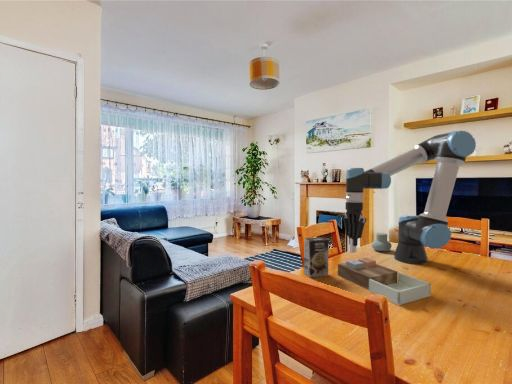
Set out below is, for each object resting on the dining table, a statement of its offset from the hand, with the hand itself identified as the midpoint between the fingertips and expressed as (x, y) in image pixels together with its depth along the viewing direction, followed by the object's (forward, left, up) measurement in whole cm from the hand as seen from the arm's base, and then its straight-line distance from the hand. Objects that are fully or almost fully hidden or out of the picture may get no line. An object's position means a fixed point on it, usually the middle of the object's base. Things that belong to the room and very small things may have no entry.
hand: (352, 252), depth 126 cm
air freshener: (-39, -18, -9) cm, 44 cm away
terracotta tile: (0, +8, -3) cm, 9 cm away
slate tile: (+7, +8, -3) cm, 11 cm away
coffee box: (+19, -3, -9) cm, 21 cm away
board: (+3, +11, -8) cm, 14 cm away
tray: (+3, +27, -8) cm, 28 cm away
